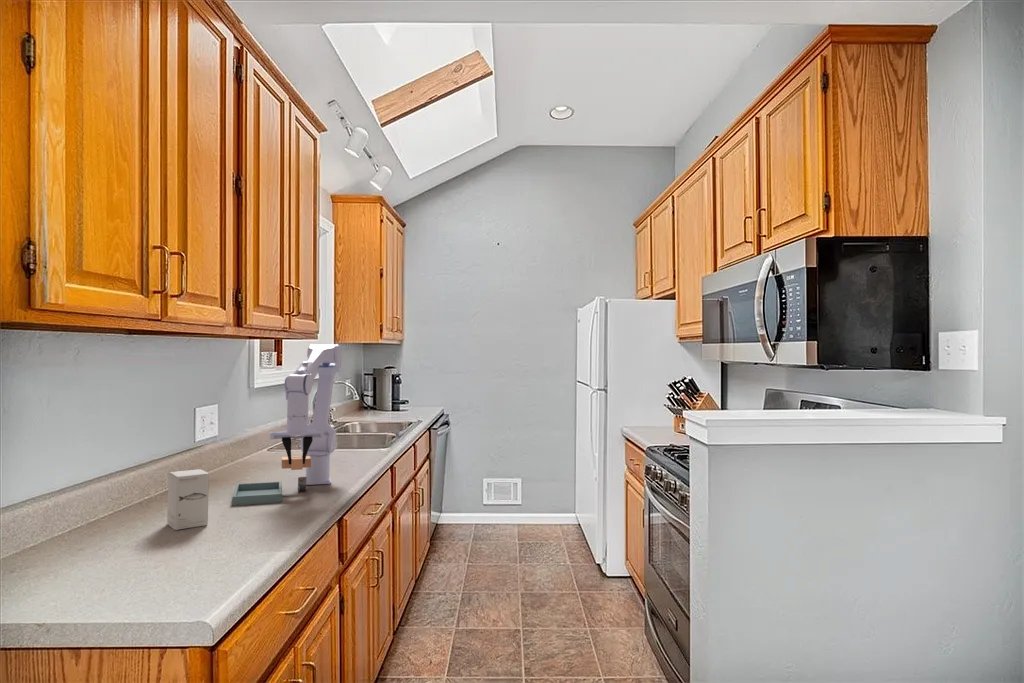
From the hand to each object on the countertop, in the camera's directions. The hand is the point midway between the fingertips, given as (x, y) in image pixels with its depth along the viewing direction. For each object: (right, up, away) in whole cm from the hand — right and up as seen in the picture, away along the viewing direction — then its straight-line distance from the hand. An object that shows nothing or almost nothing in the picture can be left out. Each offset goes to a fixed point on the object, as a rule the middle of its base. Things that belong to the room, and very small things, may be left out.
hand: (296, 463), depth 182 cm
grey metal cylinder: (-1, -10, +7) cm, 12 cm away
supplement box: (-16, -9, -30) cm, 35 cm away
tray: (-11, -9, -1) cm, 14 cm away
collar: (-1, -2, +4) cm, 4 cm away
